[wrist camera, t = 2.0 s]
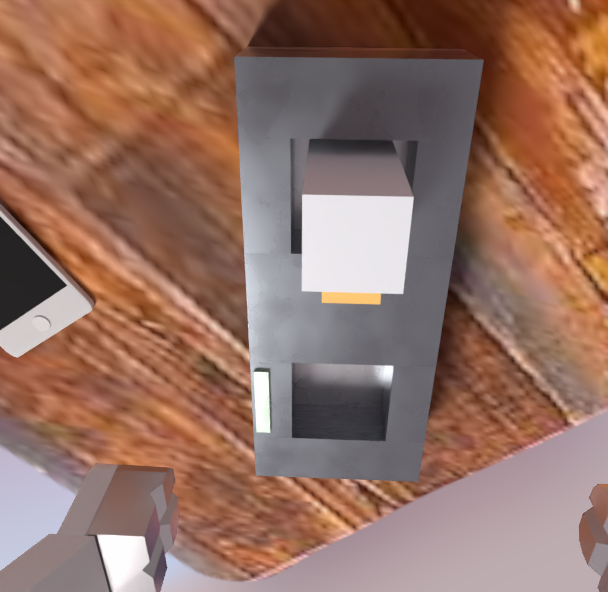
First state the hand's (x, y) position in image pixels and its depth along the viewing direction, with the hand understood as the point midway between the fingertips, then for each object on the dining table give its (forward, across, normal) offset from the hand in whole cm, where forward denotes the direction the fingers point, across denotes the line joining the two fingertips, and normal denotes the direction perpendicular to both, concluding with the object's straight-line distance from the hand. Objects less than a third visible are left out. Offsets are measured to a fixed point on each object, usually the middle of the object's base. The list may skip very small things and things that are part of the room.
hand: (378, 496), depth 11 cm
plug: (+20, 0, 0) cm, 20 cm away
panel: (+21, 0, +6) cm, 21 cm away
